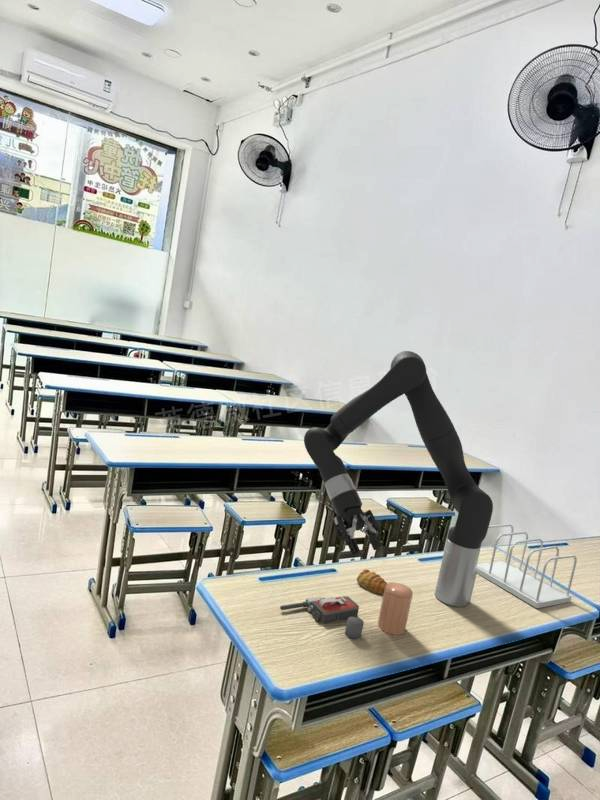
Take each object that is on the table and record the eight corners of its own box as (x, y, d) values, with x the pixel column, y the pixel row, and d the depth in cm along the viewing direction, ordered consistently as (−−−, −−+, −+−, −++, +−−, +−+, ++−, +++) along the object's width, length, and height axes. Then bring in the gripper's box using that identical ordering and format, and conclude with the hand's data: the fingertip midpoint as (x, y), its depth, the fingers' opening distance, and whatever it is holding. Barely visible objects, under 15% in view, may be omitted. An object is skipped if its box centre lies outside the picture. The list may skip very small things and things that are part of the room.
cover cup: (393, 618, 139) (401, 581, 138) (409, 632, 133) (418, 595, 132) (372, 620, 136) (380, 583, 134) (388, 635, 130) (396, 597, 129)
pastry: (393, 592, 153) (396, 580, 153) (379, 598, 149) (382, 585, 148) (367, 578, 160) (369, 566, 159) (353, 583, 155) (355, 571, 154)
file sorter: (570, 602, 168) (583, 555, 165) (536, 610, 158) (549, 560, 156) (503, 565, 188) (513, 522, 186) (469, 570, 179) (480, 525, 177)
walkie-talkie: (342, 600, 144) (277, 610, 133) (345, 585, 143) (280, 594, 133) (362, 618, 137) (295, 630, 126) (365, 602, 136) (298, 613, 125)
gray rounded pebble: (355, 629, 130) (357, 615, 130) (363, 638, 127) (366, 624, 127) (341, 631, 129) (344, 617, 128) (350, 640, 125) (353, 626, 125)
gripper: (334, 490, 140) (359, 550, 133) (368, 486, 150) (394, 541, 143) (316, 503, 144) (340, 561, 137) (350, 497, 154) (374, 552, 147)
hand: (367, 551), depth 140 cm, fingers open, 8 cm apart
